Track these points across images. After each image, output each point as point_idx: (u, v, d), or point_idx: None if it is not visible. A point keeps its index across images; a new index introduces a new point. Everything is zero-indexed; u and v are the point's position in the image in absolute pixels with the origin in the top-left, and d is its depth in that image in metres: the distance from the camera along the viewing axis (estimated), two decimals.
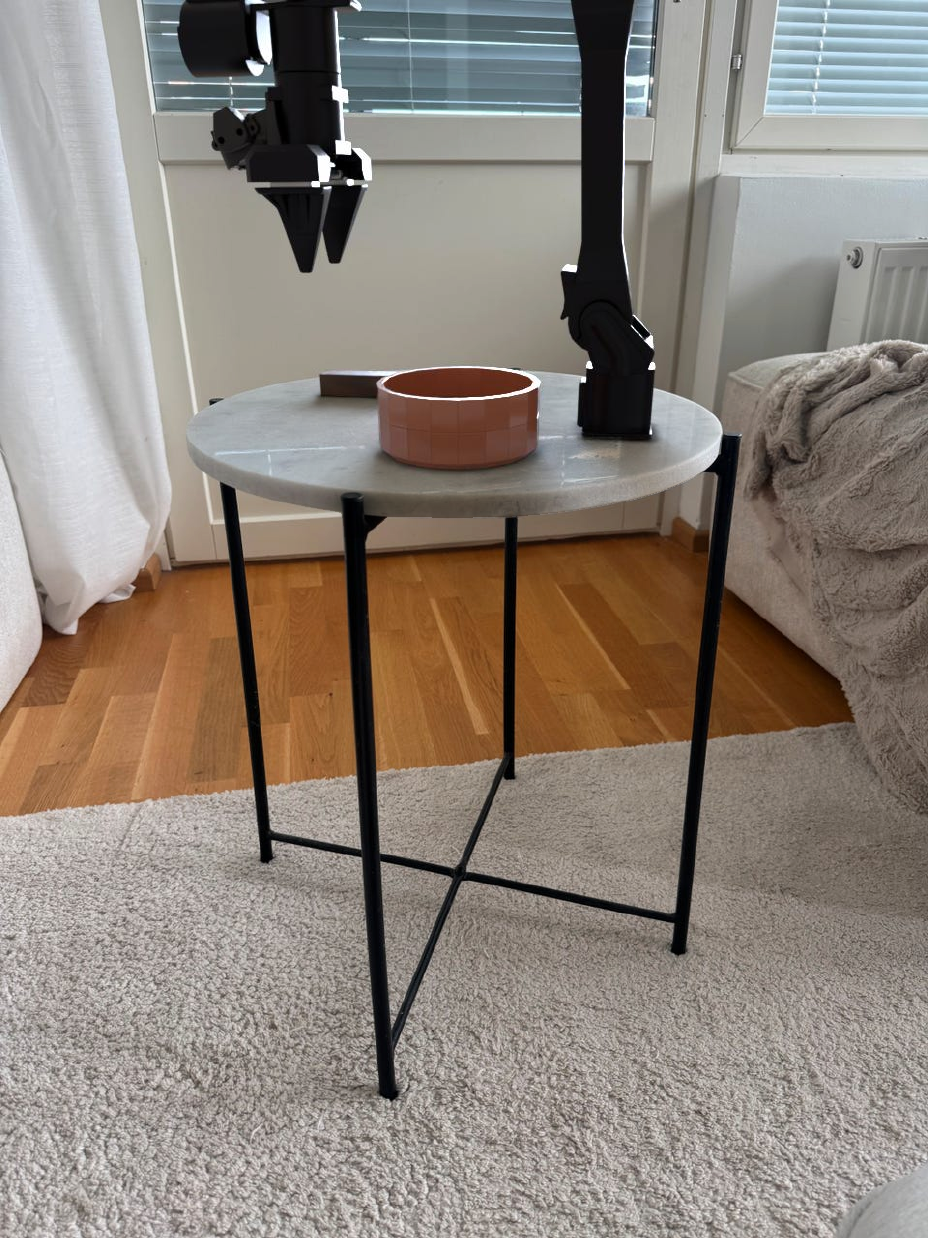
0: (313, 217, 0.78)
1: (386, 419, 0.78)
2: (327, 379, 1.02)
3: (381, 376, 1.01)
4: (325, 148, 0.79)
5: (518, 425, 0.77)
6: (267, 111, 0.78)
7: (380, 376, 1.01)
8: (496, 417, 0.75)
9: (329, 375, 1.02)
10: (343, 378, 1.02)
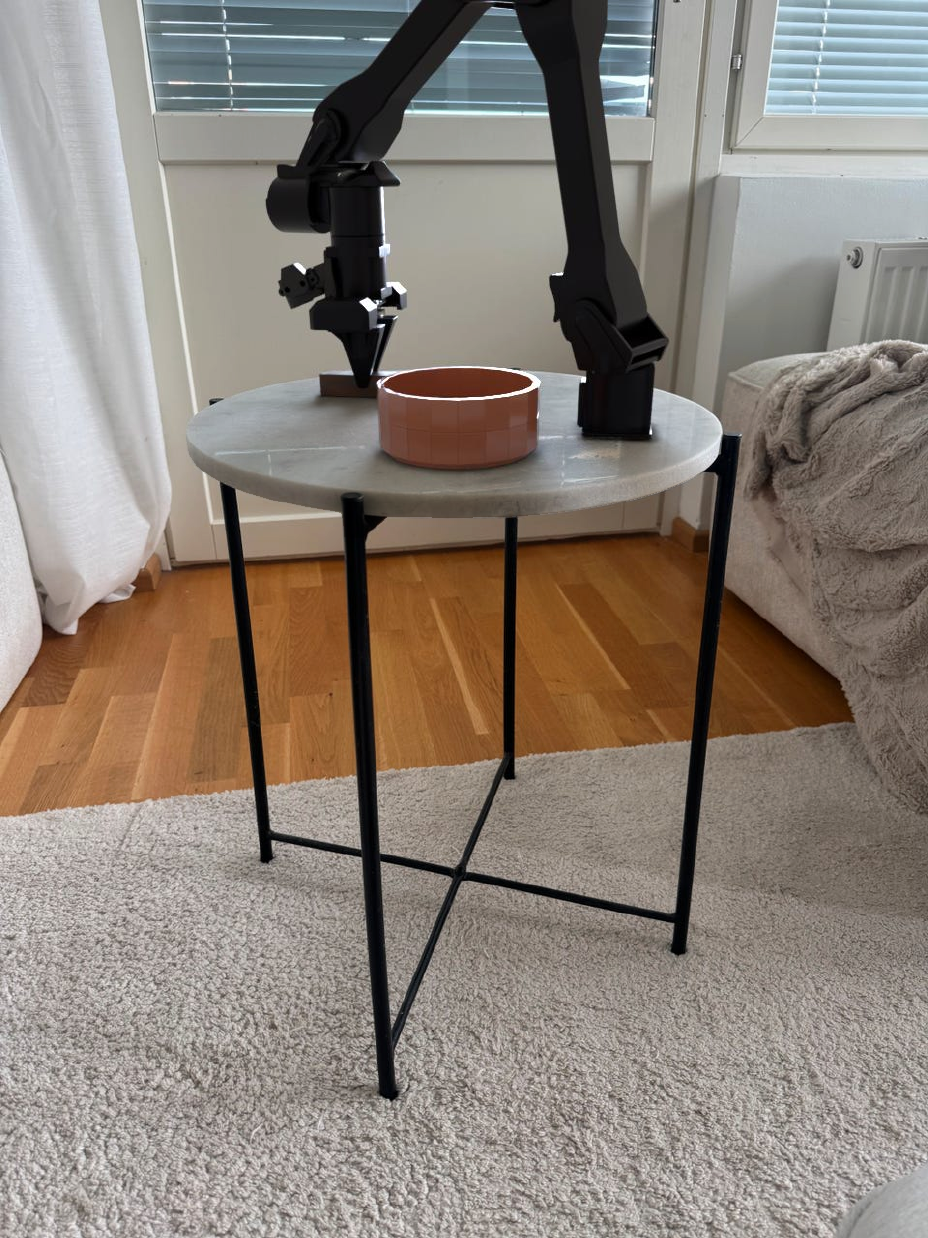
0: (370, 348, 0.98)
1: (386, 419, 0.78)
2: (327, 379, 1.02)
3: (381, 376, 1.01)
4: (372, 295, 0.96)
5: (518, 425, 0.77)
6: (325, 266, 0.95)
7: (380, 376, 1.01)
8: (496, 417, 0.75)
9: (329, 375, 1.02)
10: (343, 378, 1.02)
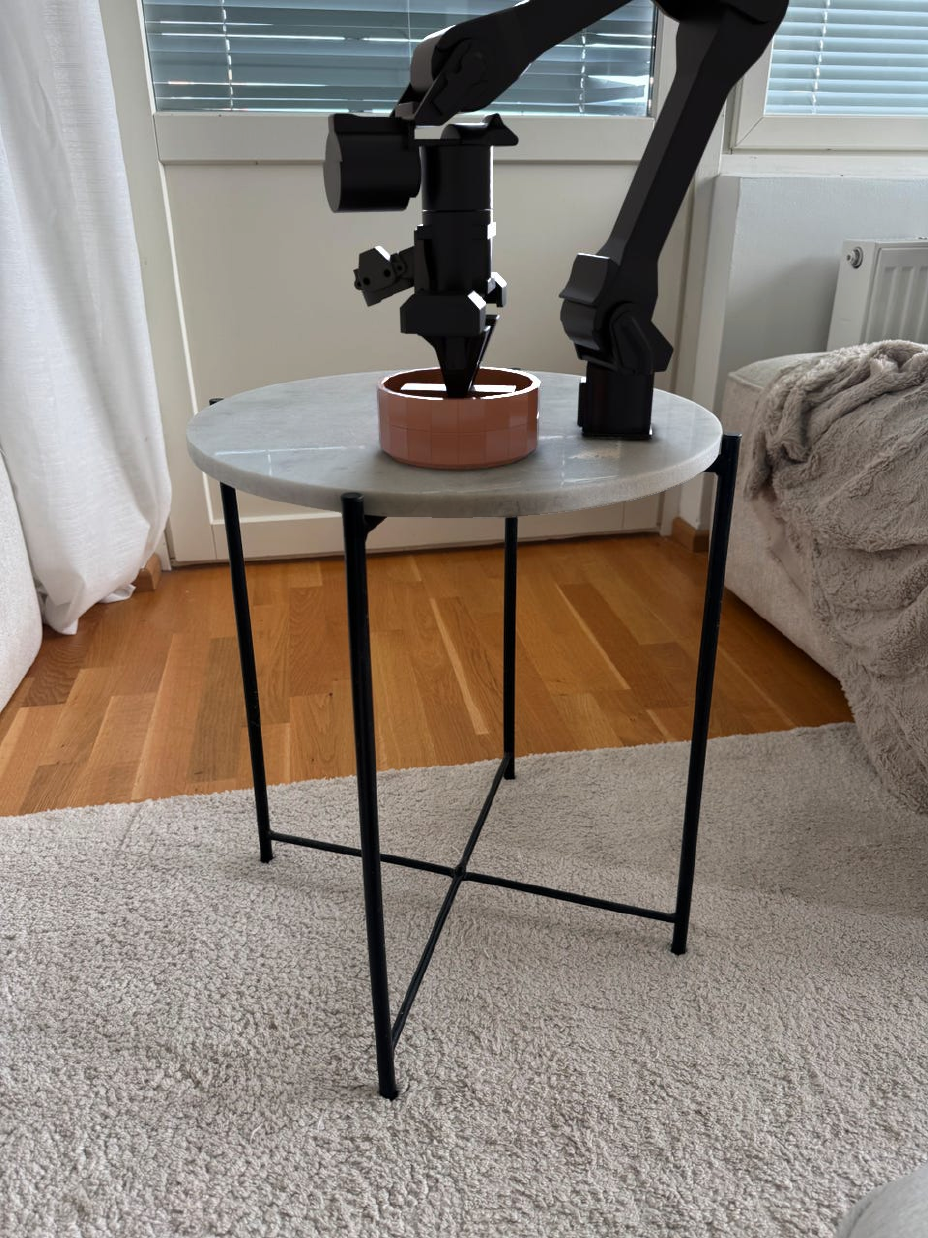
0: (471, 356, 0.76)
1: (386, 419, 0.78)
2: None
3: (480, 392, 0.79)
4: (476, 288, 0.74)
5: (518, 425, 0.77)
6: (415, 250, 0.73)
7: (479, 392, 0.79)
8: (496, 417, 0.75)
9: (413, 390, 0.80)
10: (431, 394, 0.80)
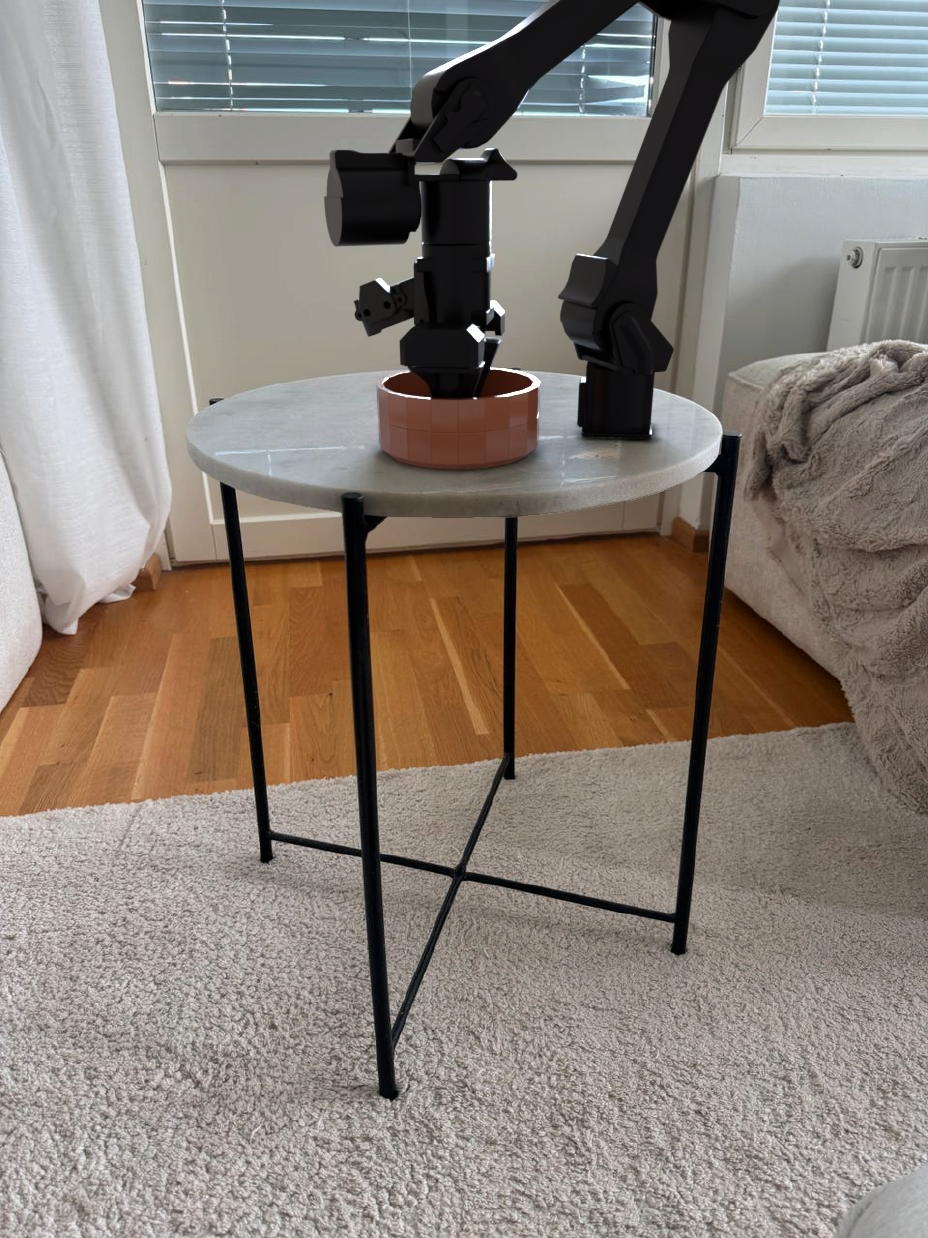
0: (465, 393, 0.75)
1: (386, 419, 0.78)
2: None
3: None
4: (475, 320, 0.75)
5: (518, 425, 0.77)
6: (415, 282, 0.74)
7: None
8: (496, 417, 0.75)
9: None
10: None
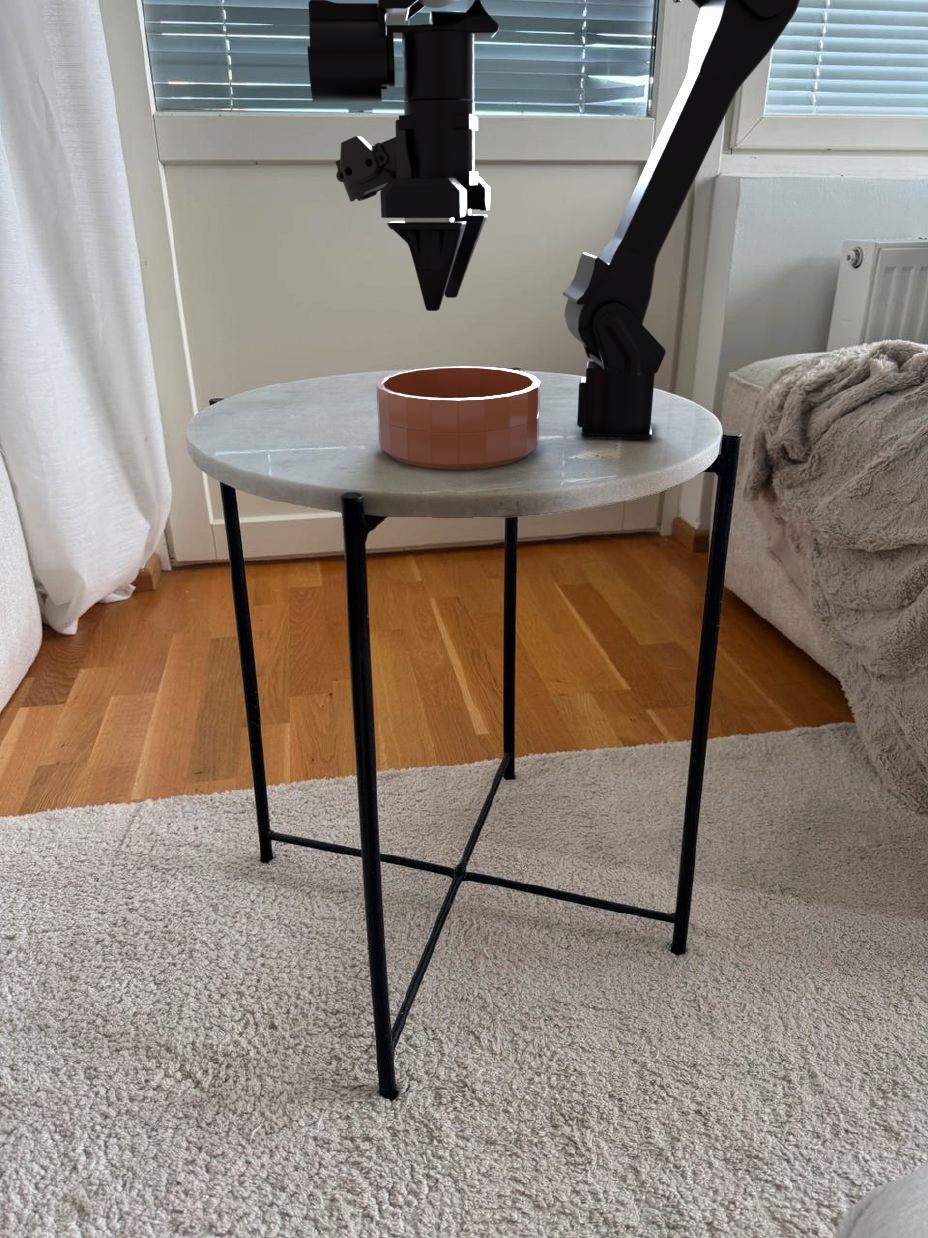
0: (446, 253, 0.73)
1: (386, 419, 0.78)
2: None
3: None
4: (457, 180, 0.74)
5: (518, 425, 0.77)
6: (397, 140, 0.74)
7: None
8: (496, 417, 0.75)
9: None
10: None
